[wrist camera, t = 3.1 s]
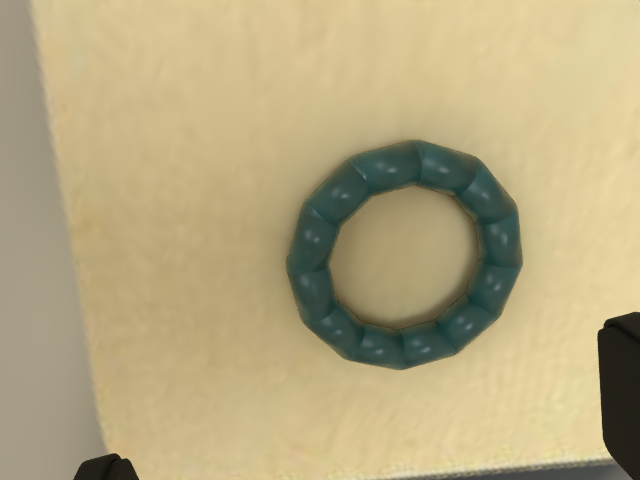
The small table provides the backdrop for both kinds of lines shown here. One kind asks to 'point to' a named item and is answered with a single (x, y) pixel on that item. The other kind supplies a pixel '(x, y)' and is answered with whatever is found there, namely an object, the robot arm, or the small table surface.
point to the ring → (385, 176)
